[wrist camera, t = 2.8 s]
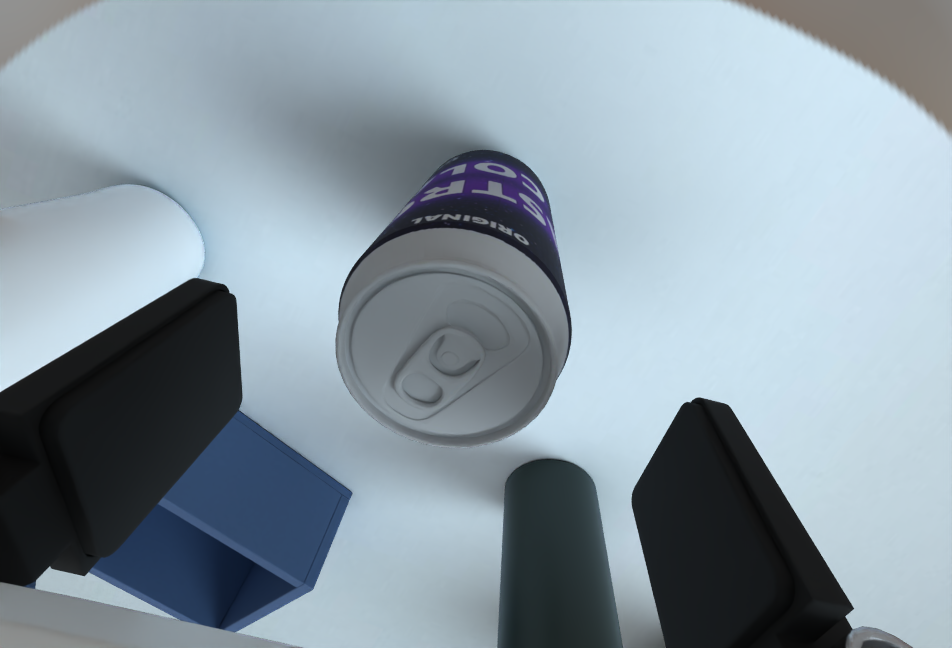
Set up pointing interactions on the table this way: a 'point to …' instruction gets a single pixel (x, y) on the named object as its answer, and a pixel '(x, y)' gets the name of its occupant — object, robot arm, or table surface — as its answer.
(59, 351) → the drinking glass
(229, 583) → the blue open box
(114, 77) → the table surface
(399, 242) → the beverage can
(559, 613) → the wine bottle
